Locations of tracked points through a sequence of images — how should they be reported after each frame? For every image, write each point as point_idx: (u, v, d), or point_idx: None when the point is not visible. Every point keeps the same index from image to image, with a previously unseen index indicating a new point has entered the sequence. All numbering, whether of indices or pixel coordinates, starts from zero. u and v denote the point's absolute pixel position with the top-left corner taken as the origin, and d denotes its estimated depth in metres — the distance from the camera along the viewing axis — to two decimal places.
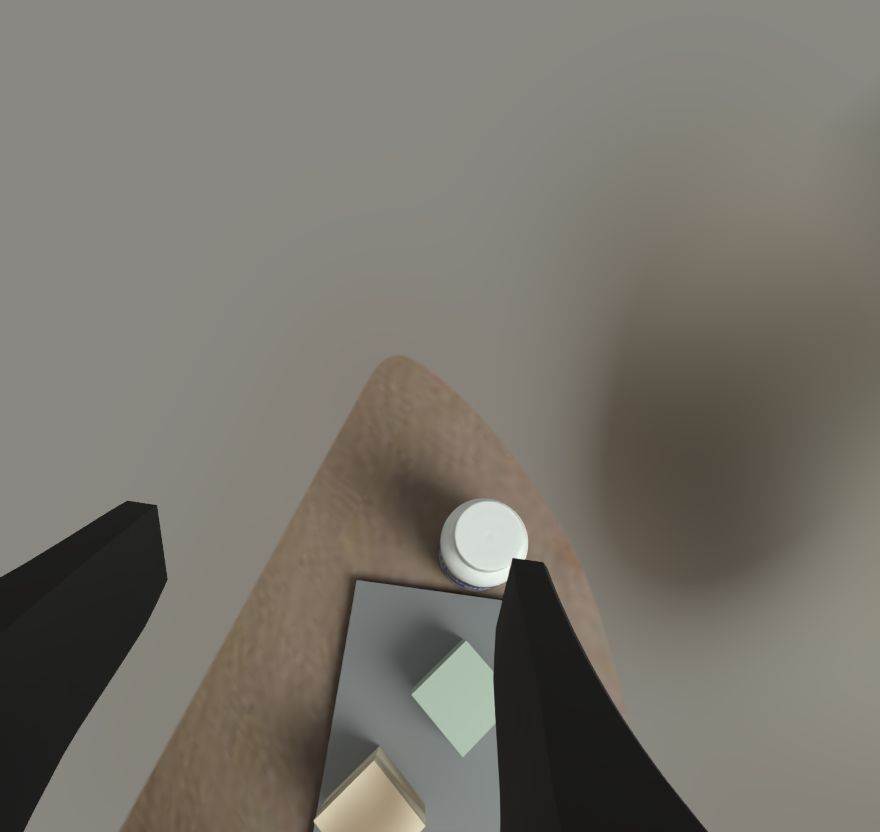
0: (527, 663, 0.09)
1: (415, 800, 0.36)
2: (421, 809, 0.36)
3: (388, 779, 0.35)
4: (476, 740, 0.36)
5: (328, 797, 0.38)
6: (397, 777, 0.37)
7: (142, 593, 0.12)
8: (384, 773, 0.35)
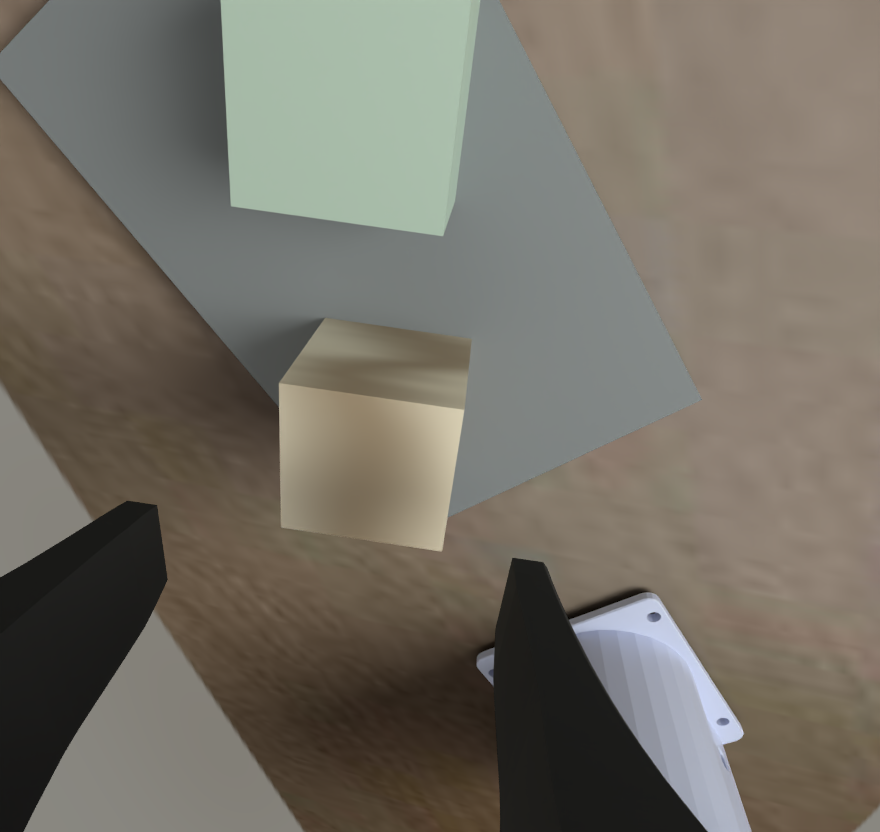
0: (527, 663, 0.09)
1: (436, 361, 0.16)
2: (455, 368, 0.16)
3: (333, 391, 0.14)
4: (445, 175, 0.12)
5: None
6: (376, 352, 0.17)
7: (142, 593, 0.12)
8: (318, 386, 0.14)
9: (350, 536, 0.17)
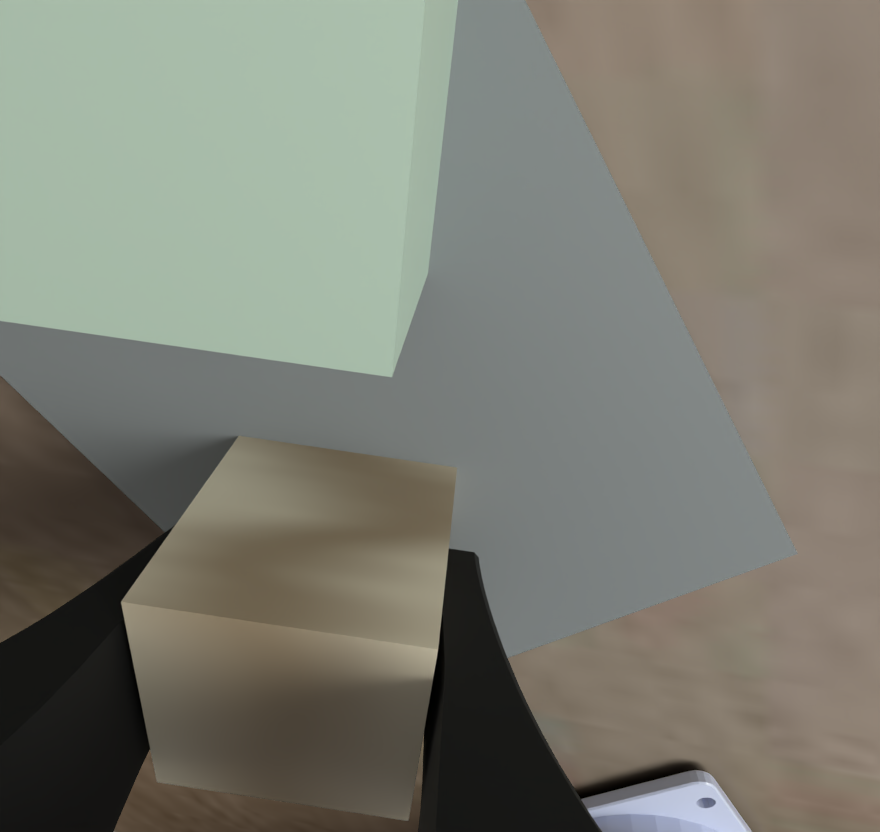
0: (441, 650, 0.09)
1: (399, 523, 0.11)
2: (428, 539, 0.10)
3: (214, 615, 0.08)
4: (391, 271, 0.06)
5: None
6: (306, 507, 0.11)
7: None
8: (190, 605, 0.09)
9: (265, 797, 0.11)
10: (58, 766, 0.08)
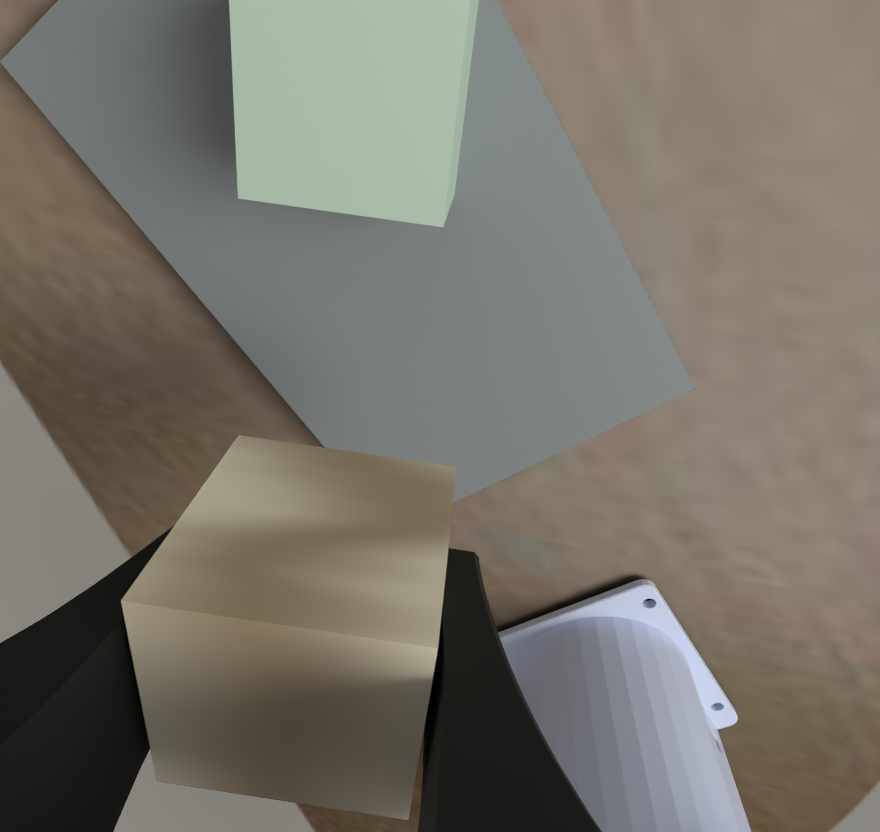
0: (441, 650, 0.09)
1: (399, 522, 0.11)
2: (428, 538, 0.10)
3: (213, 614, 0.08)
4: (445, 168, 0.13)
5: None
6: (306, 507, 0.11)
7: None
8: (190, 604, 0.09)
9: (264, 795, 0.11)
10: (58, 766, 0.08)
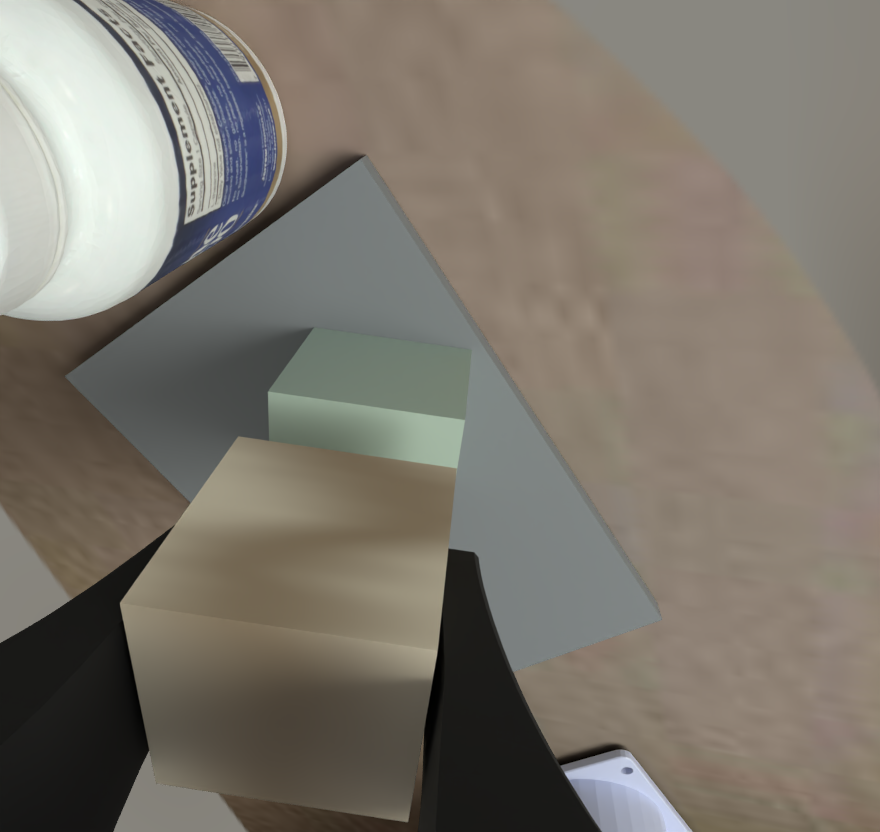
0: (441, 650, 0.09)
1: (399, 524, 0.10)
2: (428, 540, 0.10)
3: (212, 616, 0.08)
4: None
5: None
6: (306, 508, 0.11)
7: None
8: (189, 606, 0.08)
9: (264, 798, 0.11)
10: (58, 766, 0.08)
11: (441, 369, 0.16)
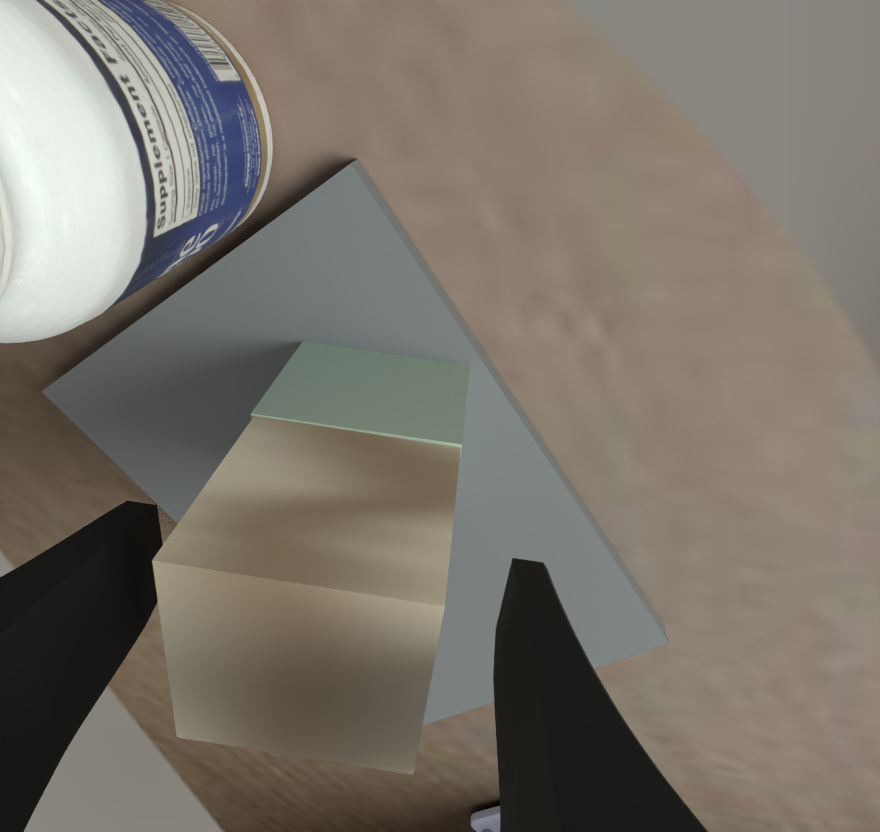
0: (527, 663, 0.09)
1: (407, 496, 0.11)
2: (434, 510, 0.11)
3: (237, 573, 0.09)
4: None
5: None
6: (320, 481, 0.11)
7: (142, 593, 0.12)
8: (216, 564, 0.09)
9: (279, 752, 0.11)
10: None
11: (437, 386, 0.15)
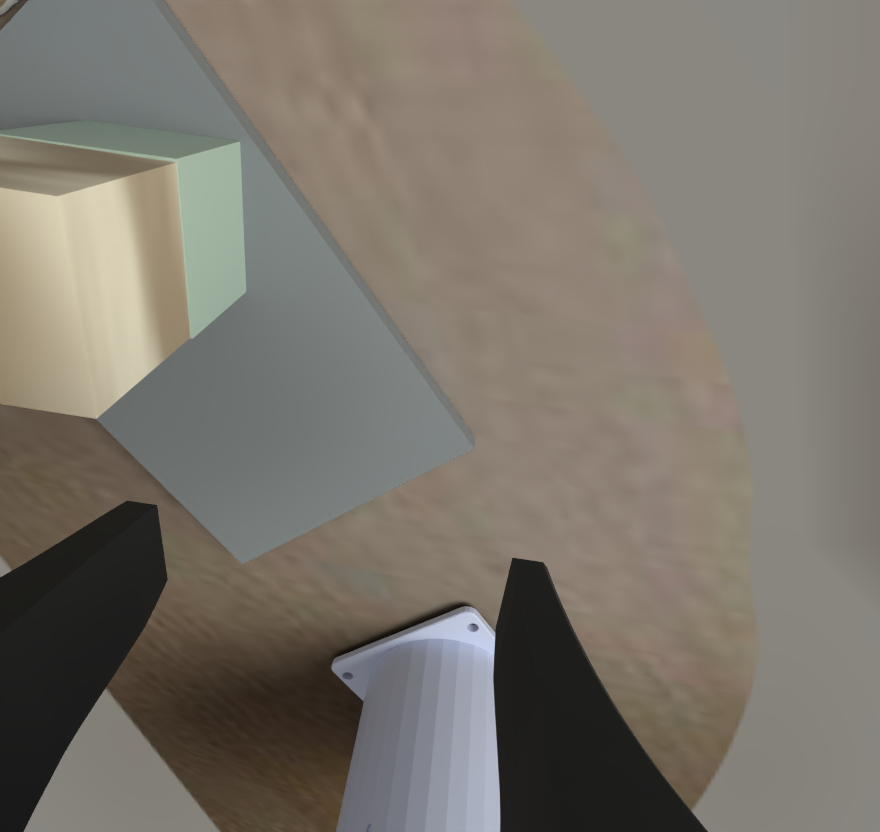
0: (527, 663, 0.09)
1: (91, 168, 0.13)
2: (108, 174, 0.12)
3: None
4: None
5: None
6: (14, 156, 0.13)
7: (142, 593, 0.12)
8: None
9: None
10: None
11: (191, 143, 0.16)
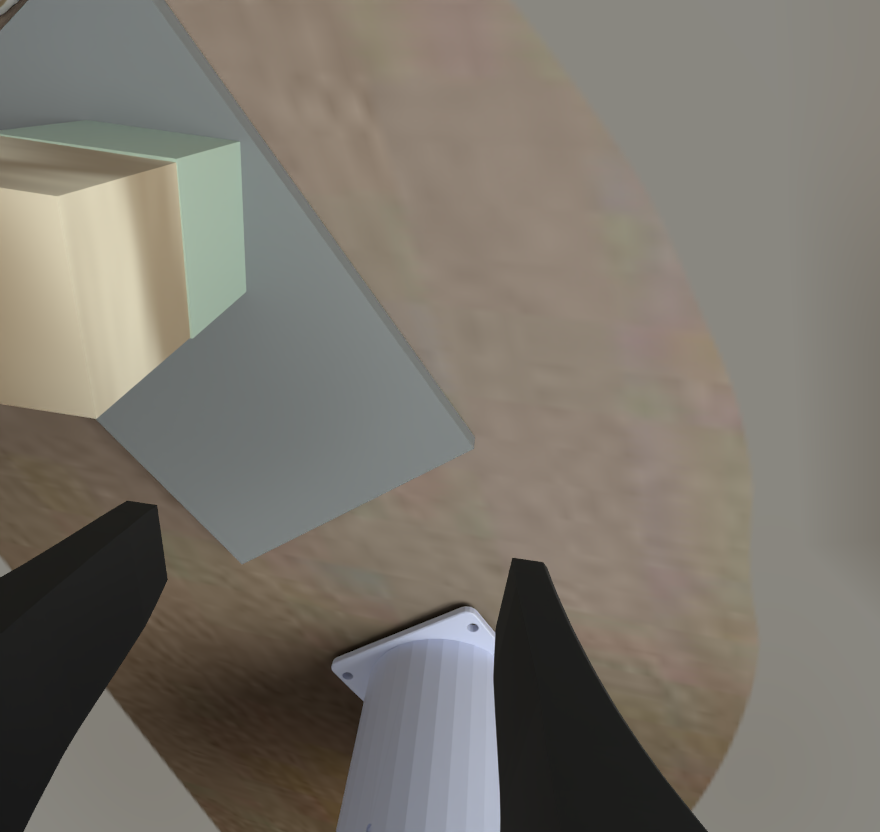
0: (527, 663, 0.09)
1: (90, 168, 0.13)
2: (108, 174, 0.12)
3: None
4: None
5: None
6: (14, 156, 0.13)
7: (142, 593, 0.12)
8: None
9: None
10: None
11: (191, 143, 0.16)
